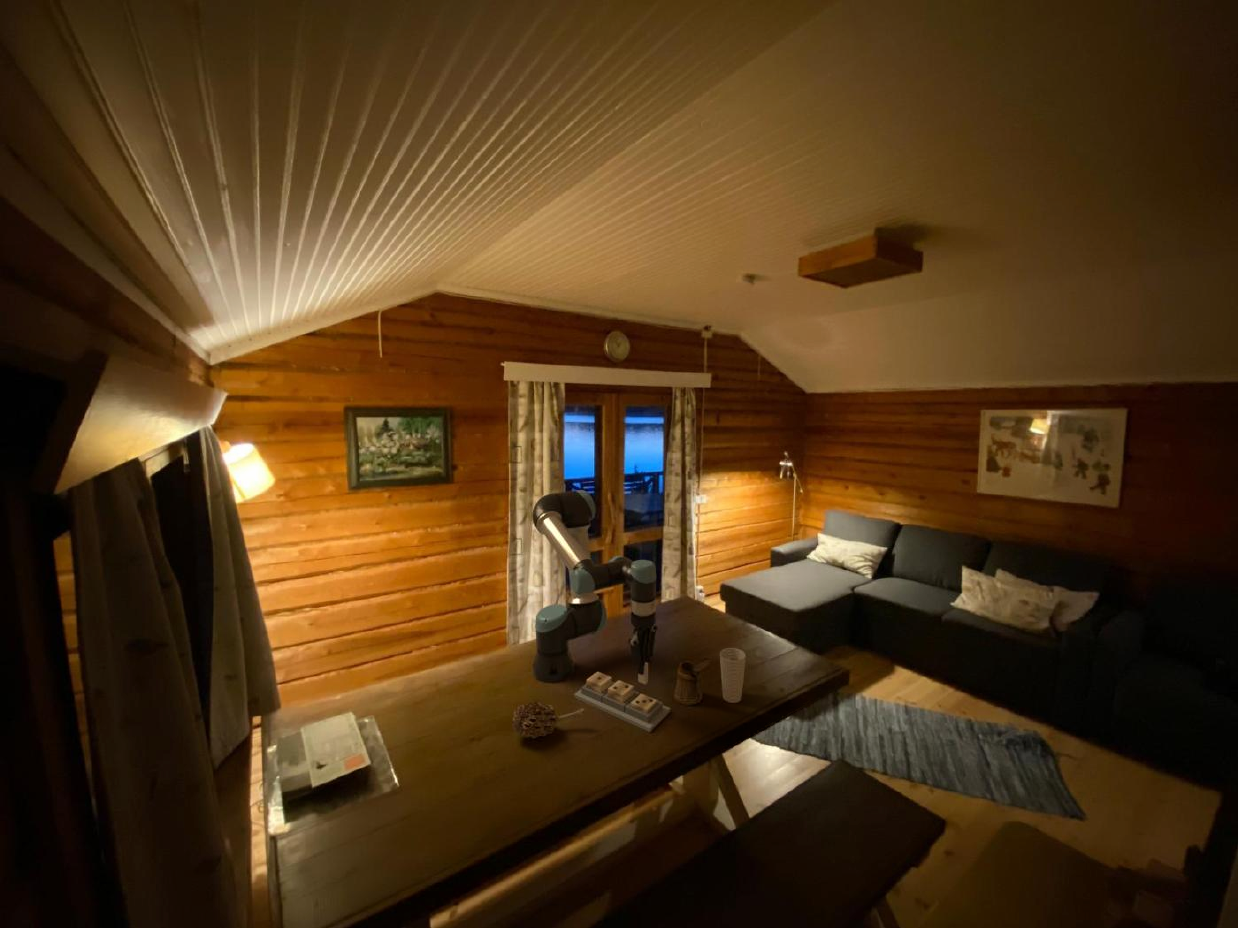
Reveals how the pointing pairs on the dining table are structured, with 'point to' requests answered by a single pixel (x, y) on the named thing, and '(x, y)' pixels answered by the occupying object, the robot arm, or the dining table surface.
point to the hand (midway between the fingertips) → (643, 681)
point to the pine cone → (538, 719)
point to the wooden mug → (689, 682)
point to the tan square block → (599, 682)
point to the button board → (623, 708)
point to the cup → (732, 673)
